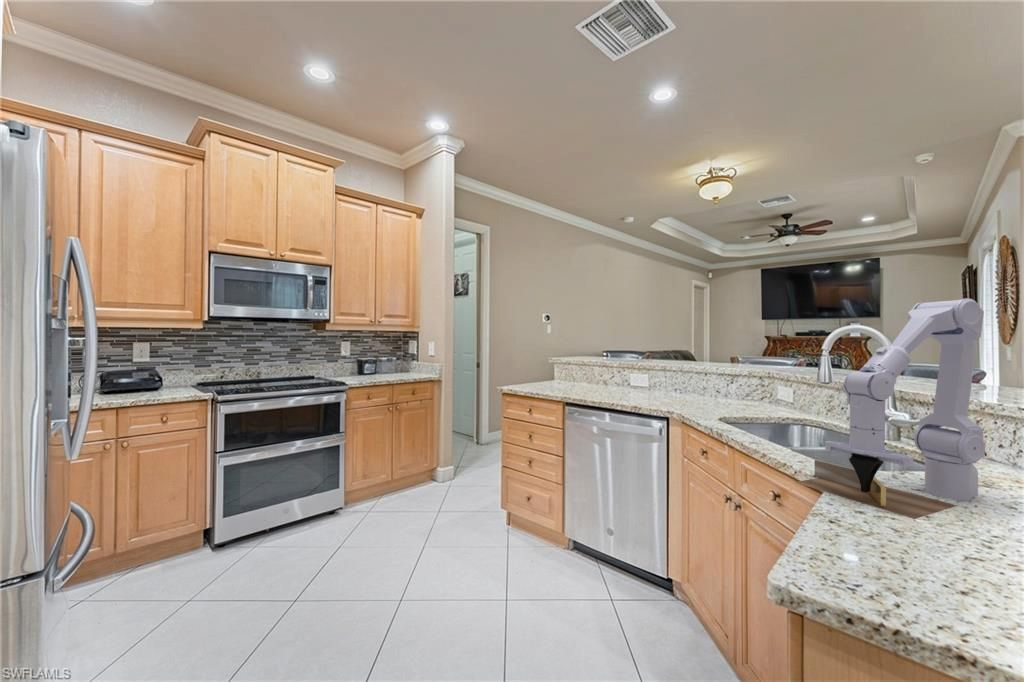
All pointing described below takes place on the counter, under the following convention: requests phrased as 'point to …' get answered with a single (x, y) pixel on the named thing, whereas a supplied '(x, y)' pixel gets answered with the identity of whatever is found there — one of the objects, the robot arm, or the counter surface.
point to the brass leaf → (878, 492)
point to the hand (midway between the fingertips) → (865, 491)
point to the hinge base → (849, 487)
